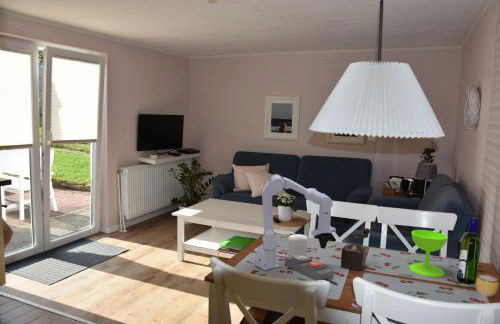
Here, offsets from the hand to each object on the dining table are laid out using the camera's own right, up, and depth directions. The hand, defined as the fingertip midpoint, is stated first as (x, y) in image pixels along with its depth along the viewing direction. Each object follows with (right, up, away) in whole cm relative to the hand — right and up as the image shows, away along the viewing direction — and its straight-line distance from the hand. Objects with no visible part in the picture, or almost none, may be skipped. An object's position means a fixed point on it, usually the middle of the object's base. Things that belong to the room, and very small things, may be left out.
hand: (322, 248), depth 194 cm
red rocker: (-5, -5, -10) cm, 12 cm away
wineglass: (+51, -11, +1) cm, 52 cm away
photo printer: (-11, -8, +13) cm, 19 cm away
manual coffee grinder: (+17, -10, +6) cm, 20 cm away
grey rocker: (-11, -4, -2) cm, 12 cm away
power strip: (-6, -10, -8) cm, 14 cm away
